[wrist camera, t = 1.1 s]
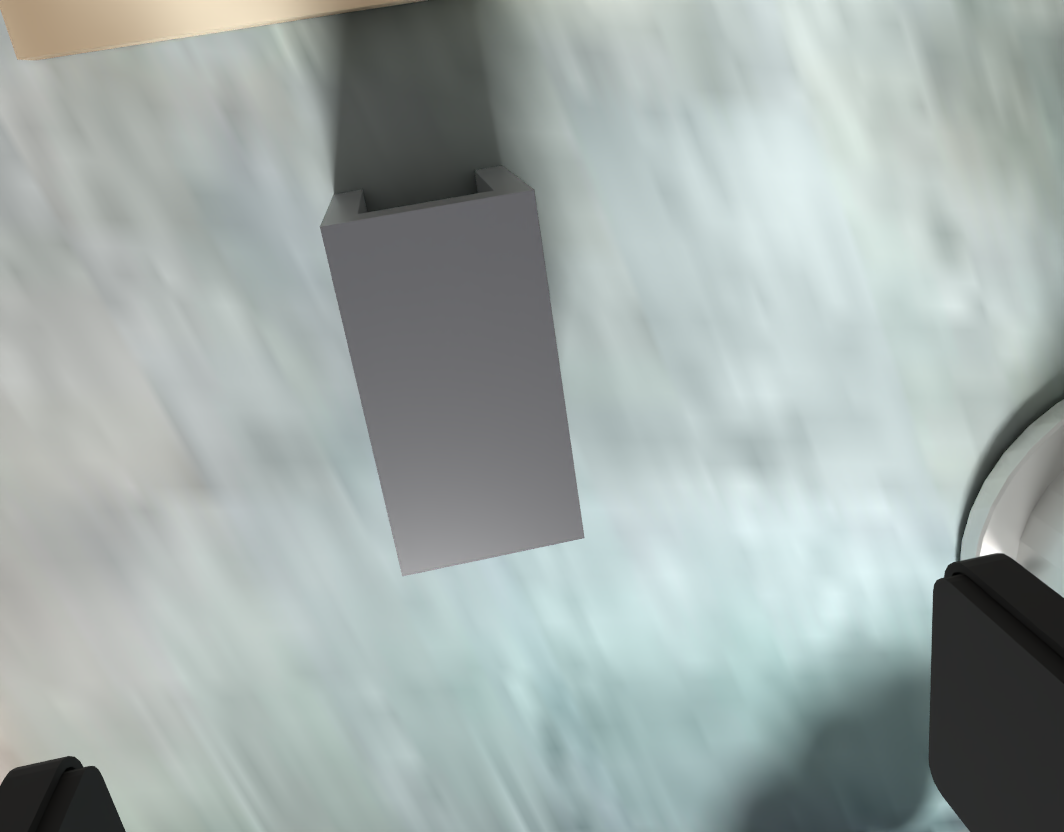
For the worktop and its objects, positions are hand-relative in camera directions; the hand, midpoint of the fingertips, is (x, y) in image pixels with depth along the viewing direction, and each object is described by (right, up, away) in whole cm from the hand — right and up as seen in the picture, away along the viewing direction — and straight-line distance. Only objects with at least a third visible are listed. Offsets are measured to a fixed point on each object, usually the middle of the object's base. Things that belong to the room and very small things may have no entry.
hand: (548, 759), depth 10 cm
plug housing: (-3, +6, +17) cm, 18 cm away
